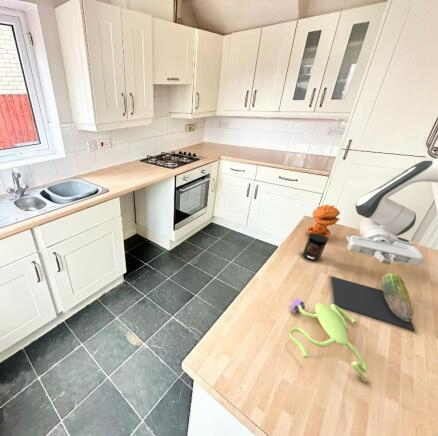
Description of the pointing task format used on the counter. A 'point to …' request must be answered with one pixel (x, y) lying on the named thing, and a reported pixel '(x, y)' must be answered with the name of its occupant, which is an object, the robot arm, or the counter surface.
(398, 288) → the vegetable
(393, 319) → the mat
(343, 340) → the figurine
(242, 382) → the counter surface
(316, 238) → the supplement container
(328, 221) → the toy dinosaur
